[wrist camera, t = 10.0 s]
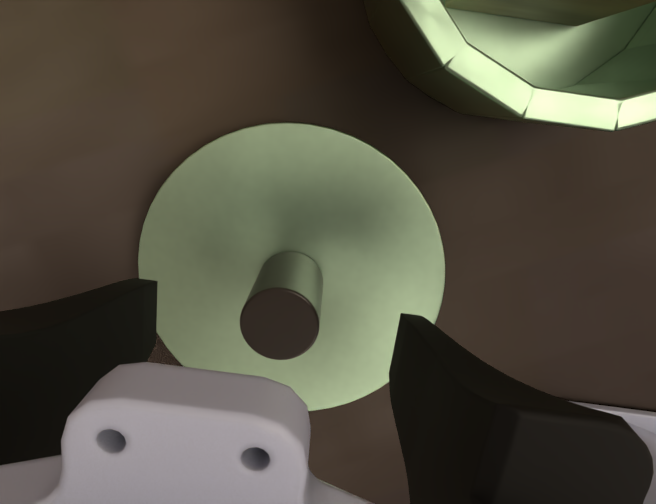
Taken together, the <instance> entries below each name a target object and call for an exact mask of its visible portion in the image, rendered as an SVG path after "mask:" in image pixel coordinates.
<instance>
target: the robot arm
mask: <svg viewBox="0 0 656 504" xmlns="http://www.w3.org/2000/svg"><path fill="white" fill-rule="evenodd" d="M157 284H158V281H155V280H147V279H139V278H134V279H128V280H124V281H120V282H117V283H113V284H110V285H107V286H103V287H100V288H97V289H94V290H90V291H87V292H84V293H81V294H77V295H73V296H70V297H66V298H62V299H59V300H55V301H51V302H48V303H43V304H39V305H34V306H29V307H24V308H19V309H13V310H7V311H0V504H374V503H372V502H370V501H368V500H365V499H363V498H361V497H358V496H356V495H354V494H351V493H349V492H347V491H345V490H342V489H340V488H338V487H335V486H333V485H331V484H329V483H326V482H324V481H322V480H319V479H317V478H316V477H315V476H314V475H313V474H312V472H311V471H310V469H309V466H308V458H309V445H310V433H311V426H310V420H309V414H308V408H307V405H306V404H305V403H304V401H303V400H302V399H301V398H300V397H299V396H298V395H297V394H296V393H295V391H294V390H293V389H292V388H291V387H290V386H287V385H285V384H282V383H279V382H276V381H274V380H271V379H268V378H266V377H261V376H253V375H245V374H237V373H229V372H222V371H214V370H206V369H198V368H190V367H182V366H175V365H167V364H159V363H151V362H147V360H148V358H149V356H150V354H151V352H152V350H153V348H154V346H155V344H156V325H157ZM389 384H390V397H391V404H392V409H393V413H394V418H395V422H396V427H397V431H398V435H399V440H400V444H401V448H402V453H403V457H404V461H405V466H406V472H407V478H408V486H409V495H410V504H656V412H650V411H642V410H634V409H627V408H619V407H611V406H604V405H596V404H588V403H581V402H573V401H566V400H563V399H561V398H558V397H555V396H552V395H550V394H547V393H545V392H542V391H540V390H537V389H535V388H533V387H531V386H528V385H526V384H524V383H522V382H519V381H517V380H515V379H513V378H511V377H509V376H507V375H506V374H504V373H502V372H500V371H499V370H497V369H495V368H493V367H492V366H490V365H488V364H487V363H485V362H483V361H482V360H480V359H479V358H477V357H476V356H475V355H473V354H472V353H470V352H469V351H467V350H466V349H465V348H463V347H462V346H461V345H459V344H458V343H457V342H455V341H454V340H453V339H451V338H450V337H449V336H448V335H446V334H445V333H444V332H443V331H441V330H440V329H439V328H438V327H437V326H435V325H434V324H433V323H432V322H430V321H429V320H428V319H426V318H425V317H423V316H420V315H413V314H405V313H401V315H400V320H399V325H398V330H397V335H396V340H395V345H394V350H393V355H392V360H391V365H390V370H389Z"/></svg>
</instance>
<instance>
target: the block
mask: <svg viewBox="0 0 656 504" xmlns="http://www.w3.org/2000/svg"><path fill="white" fill-rule="evenodd" d="M655 1H656V0H446V1H445V7H447V8H454V9H461V10H468V11H474V12H481V13H488V14H495V15H502V16H509V17H515V18H522V19H529V20H536V21H543V22H550V23H556V24H563V25H570V26H580V25H583V24H586V23H589V22H592V21H595V20H598V19H602V18H605V17H608V16H611V15H614V14H617V13H620V12H624V11H627V10H630V9H633V8H636V7H639V6H642V5H646V4H649V3H652V2H655Z"/></svg>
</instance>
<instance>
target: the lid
mask: <svg viewBox="0 0 656 504" xmlns="http://www.w3.org/2000/svg"><path fill="white" fill-rule="evenodd" d="M445 267H446V263H445V256H444V248H443V242H442V239H441V235H440V231H439V228H438V225H437V222H436V220H435V218H434V215H433V213H432V211H431V208H430V206H429V205H428V203H427V201H426V200H425V198H424V196H423V195H422V193H421V191H420V190H419V188H418V187H417V186H416V185H415V184H414V182H413V181H412V180H411V179H410V177H409V176H408V175H407V174H406V173H405V172H404V171H403V170H402V169H401V168H400V167H399V166H398V165H397V164H396V163H395V162H394V161H393V160H392V159H390V158H389V157H388V156H387V155H385V154H384V153H382V152H381V151H380V150H378V149H377V148H375V147H374V146H372V145H371V144H369V143H367V142H365V141H363V140H361V139H359V138H357V137H355V136H353V135H351V134H348V133H345V132H343V131H340V130H337V129H334V128H331V127H326V126H322V125H317V124H312V123H301V122H274V123H265V124H260V125H255V126H250V127H245V128H242V129H239V130H236V131H234V132H231V133H228V134H225V135H223V136H221V137H219V138H217V139H215V140H213V141H211V142H209V143H207V144H205V145H204V146H202V147H201V148H200V149H198V150H197V151H196V152H194V153H193V154H191V155H190V156H189V157H187V158H186V159H185V160H184V161H183V162H182V163H181V164H180V165H179V166H178V167H177V168H176V169H175V170H174V171H173V172H172V173H171V175H170V176H169V177H168V178H167V180H166V181H165V182H164V184H163V185H162V186H161V187H160V189H159V191H158V193H157V195H156V196H155V198H154V200H153V202H152V203H151V205H150V208H149V211H148V213H147V216H146V218H145V221H144V224H143V229H142V233H141V237H140V242H139V254H138V270H139V279H147V280H155V281H158V284H157V325H156V332H157V333H158V335H159V336H160V338H161V339H162V341H163V343H164V344H165V346H166V347H167V348H168V350H169V351H170V352H171V353H172V354H173V356H174V357H175V358H176V359H177V360H178V361H179V362H180V363H181V364H182V365H183V366H184V367H190V368H198V369H206V370H214V371H222V372H229V373H237V374H245V375H253V376H261V377H266V378H268V379H271V380H274V381H276V382H279V383H282V384H285V385H287V386H290V387H291V388H292V389H293V390H294V391H295V393H296V394H297V395H298V396H299V397H300V398H301V399H302V400H303V401H304V403H305V404H306V405H307V408H308V411H315V410H322V409H328V408H333V407H336V406H340V405H344V404H347V403H350V402H352V401H355V400H357V399H360V398H362V397H365V396H366V395H368V394H370V393H372V392H374V391H376V390H377V389H379V388H381V387H382V386H384V385H385V384H386V383H388V382H389V370H390V365H391V360H392V355H393V350H394V345H395V340H396V335H397V330H398V325H399V320H400V315H401V313H405V314H413V315H420V316H423V317H425V318H426V319H428V320H429V321H430V322H432V323H433V324H434V325H435V322H436V320H437V318H438V314H439V311H440V308H441V304H442V301H443V294H444V288H445Z"/></svg>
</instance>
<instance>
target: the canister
mask: <svg viewBox="0 0 656 504" xmlns="http://www.w3.org/2000/svg"><path fill="white" fill-rule="evenodd" d="M445 1H446V0H363V2H364V6H365V9H366V13H367V18H368V22H369V24H370V27H371V29H372V30H373V32H374V33H375V35H376V37H377V39H378V40H379V42H380V44H381V46H382V47H383V49H384V51H385V52H386V54H387V56H388V57H389V58H390V59H391V61H392V62H393V63H394V65H395V66H396V67H397V68H398V70H399V71H400V72H401V74H402V75H403V77H404V78H405V79H407V81H408V82H410V83H411V84H413V85H414V86H416V87H417V88H419V89H420V90H421V91H423V92H424V93H425V94H427V95H428V96H429V97H431V98H433V99H435V100H437V101H438V102H440V103H442V104H444V105H446V106H448V107H449V108H451V109H452V110H454V111H455V112H458V113H461V114H468V115H475V116H482V117H489V118H496V119H503V120H510V121H517V122H527V123H536V124H545V125H554V126H563V127H572V128H581V129H590V130H600V131H609V132H613V131H619V130H623V129H627V128H631V127H635V126H639V125H643V124H647V123H651V122H654V121H656V1H655V2H652V3H649V4H646V5H642V6H639V7H636V8H633V9H630V10H627V11H624V12H620V13H617V14H614V15H611V16H608V17H605V18H602V19H598V20H595V21H592V22H589V23H586V24H583V25H580V26H570V25H563V24H556V23H550V22H543V21H536V20H529V19H522V18H515V17H509V16H502V15H495V14H488V13H481V12H474V11H468V10H461V9H454V8H447V7H445Z"/></svg>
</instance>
